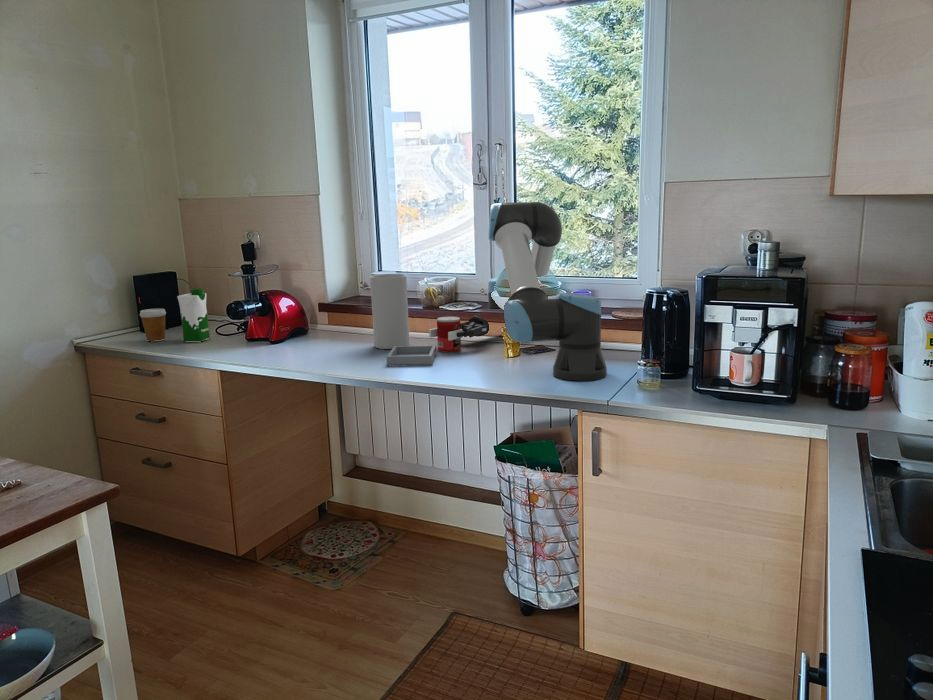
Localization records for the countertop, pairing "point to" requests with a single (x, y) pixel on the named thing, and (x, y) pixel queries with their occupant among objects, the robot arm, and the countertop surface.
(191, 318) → the milk carton
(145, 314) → the disposable coffee cup
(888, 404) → the countertop surface
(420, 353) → the box
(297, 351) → the countertop surface
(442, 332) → the canned food
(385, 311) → the cylinder vase
